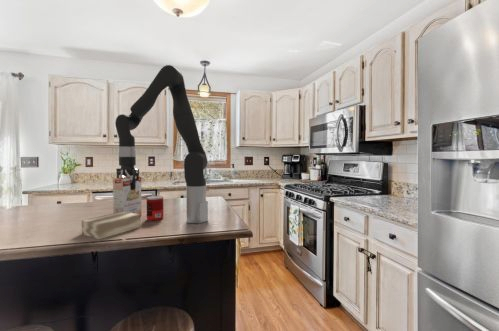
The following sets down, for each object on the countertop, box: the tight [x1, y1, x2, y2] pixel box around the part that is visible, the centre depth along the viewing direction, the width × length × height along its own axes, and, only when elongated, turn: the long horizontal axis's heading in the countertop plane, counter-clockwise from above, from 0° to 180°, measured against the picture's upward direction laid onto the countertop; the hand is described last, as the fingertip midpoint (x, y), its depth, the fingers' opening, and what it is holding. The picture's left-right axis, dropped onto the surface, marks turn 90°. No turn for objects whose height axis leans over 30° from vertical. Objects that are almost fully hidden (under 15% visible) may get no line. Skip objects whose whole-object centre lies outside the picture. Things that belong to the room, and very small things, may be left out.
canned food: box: [146, 195, 164, 222], centre depth 124 cm, size 8×8×11 cm
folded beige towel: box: [81, 212, 141, 240], centre depth 105 cm, size 12×18×6 cm, turn 151°
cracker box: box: [112, 176, 142, 217], centre depth 124 cm, size 14×6×21 cm, turn 168°
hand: (127, 189), depth 124 cm, fingers closed on cracker box, 6 cm apart
